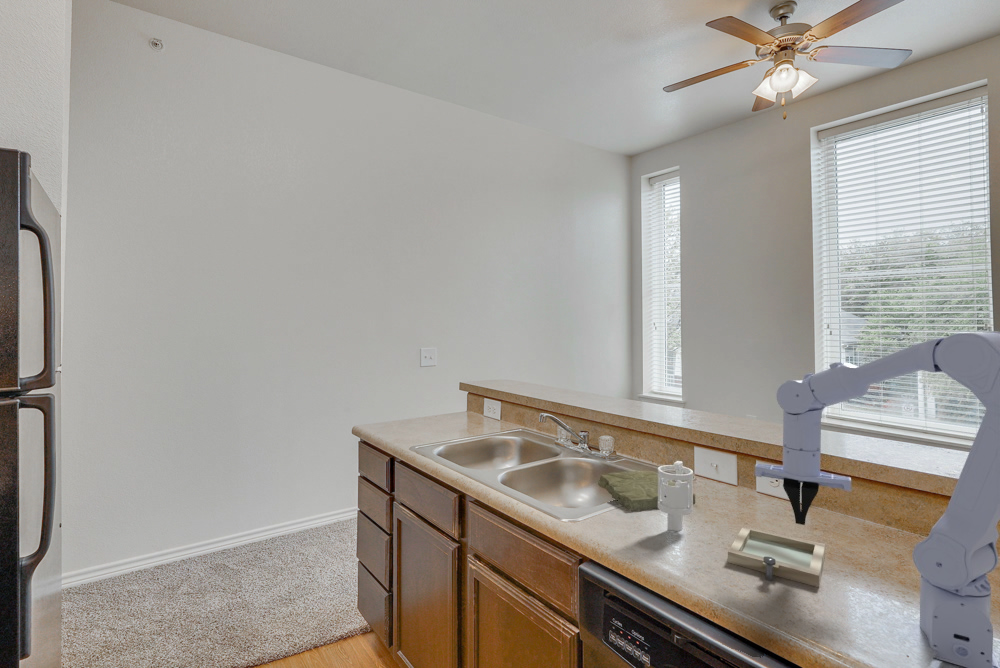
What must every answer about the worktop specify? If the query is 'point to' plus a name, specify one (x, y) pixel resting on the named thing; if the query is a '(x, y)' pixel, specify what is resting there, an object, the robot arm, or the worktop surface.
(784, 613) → the worktop surface
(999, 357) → the robot arm
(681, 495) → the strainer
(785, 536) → the picture frame
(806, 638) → the worktop surface
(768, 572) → the knob
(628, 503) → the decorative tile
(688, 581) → the worktop surface
